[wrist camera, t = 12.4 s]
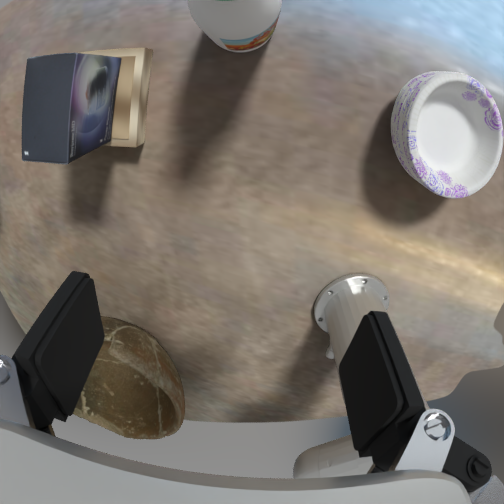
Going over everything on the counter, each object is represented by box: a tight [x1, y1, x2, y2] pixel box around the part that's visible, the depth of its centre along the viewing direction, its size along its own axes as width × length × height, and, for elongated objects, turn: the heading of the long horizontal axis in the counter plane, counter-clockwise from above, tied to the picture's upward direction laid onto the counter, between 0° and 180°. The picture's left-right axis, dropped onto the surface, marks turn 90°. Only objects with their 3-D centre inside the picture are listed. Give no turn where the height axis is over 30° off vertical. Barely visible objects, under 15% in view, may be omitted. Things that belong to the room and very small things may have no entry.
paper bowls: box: [391, 71, 503, 199], centre depth 30 cm, size 15×15×8 cm
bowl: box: [73, 316, 185, 439], centre depth 47 cm, size 28×27×15 cm
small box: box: [22, 53, 121, 164], centre depth 25 cm, size 11×6×10 cm, turn 169°
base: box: [80, 48, 153, 147], centre depth 31 cm, size 12×12×3 cm
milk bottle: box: [188, 0, 282, 52], centre depth 20 cm, size 8×8×20 cm
